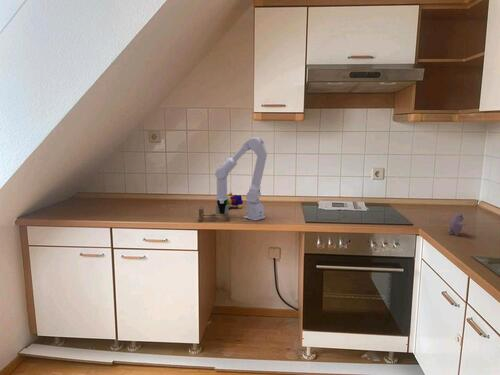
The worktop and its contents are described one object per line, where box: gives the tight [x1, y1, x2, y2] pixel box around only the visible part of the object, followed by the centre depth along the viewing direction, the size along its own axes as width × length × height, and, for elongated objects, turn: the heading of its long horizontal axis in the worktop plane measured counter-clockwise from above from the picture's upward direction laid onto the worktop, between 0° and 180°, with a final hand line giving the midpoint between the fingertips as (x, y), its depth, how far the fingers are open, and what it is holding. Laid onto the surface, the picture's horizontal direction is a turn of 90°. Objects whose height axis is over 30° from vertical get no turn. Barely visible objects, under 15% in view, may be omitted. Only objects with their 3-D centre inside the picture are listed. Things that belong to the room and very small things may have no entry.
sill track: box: [198, 205, 230, 223], centre depth 199 cm, size 16×7×7 cm, turn 93°
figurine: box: [447, 212, 466, 237], centre depth 173 cm, size 12×6×10 cm, turn 170°
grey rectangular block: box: [215, 204, 229, 214], centre depth 208 cm, size 7×2×6 cm, turn 93°
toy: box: [226, 192, 243, 209], centre depth 227 cm, size 12×9×15 cm
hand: (222, 213), depth 208 cm, fingers open, 3 cm apart
